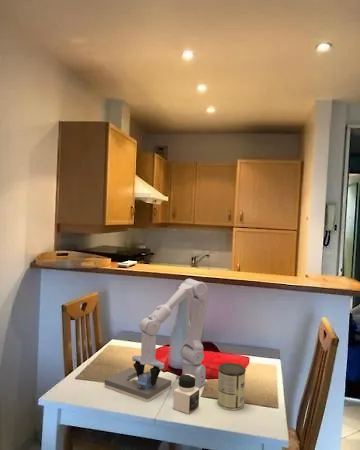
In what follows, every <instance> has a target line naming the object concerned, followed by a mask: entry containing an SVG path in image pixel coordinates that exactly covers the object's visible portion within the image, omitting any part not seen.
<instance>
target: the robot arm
mask: <svg viewBox="0 0 360 450" xmlns="http://www.w3.org/2000/svg"><path fill="white" fill-rule="evenodd" d="M208 290H209V288H208V286H207V284H205V282H204V281H198V280H195V279H193V278H190V277H189V278H186V279H185V280H184V281H183V282H182V283H181V284H180V286H179V288H178V289H177V290H176V292H174V293H173V295H171V297H170V298H169V299H168V300H167V302H166V303H164V304H160V305H157V306H156V308H155V310H154V311H153V312H152V313H151V314H149V315H148V317H144V318H143V319H142V320H140V321H141V322H140V324H139V326H138V327H139V330H140V331H141V342H140V343H141V345H140V346H141V347H140V348H141V349H140V355H136V354H134V355H133V356H132V357H131V362H134V363H133V365H132V366H133V369H135V370H136V372H137V376H138V381H139V375H141V374H143V373H144V372H145V367H146V365H147V366H151V368H150V369H149V372H151V385H152V386H153V385H155V384H156V381H157V378H158V377H159V376H160V372H161V371H162V370H163V369H165V362H162V361H160V360H158V359H156V351H157V348H156V347H157V334H158V333H159V331H160V328H161V326H162V324H163V323H164V322H165V321H166V320H168V319H169V317H170V316H171V315H172V310H173V309H174V308H175V307H177V306H178V305H179V304H180V303H181V302H183V301H184V300H185V299H187V298H189V299H190V298H191V299H192V300H193V302H194V306H193V310H192V316H191V320H190V326H189V331H188V336H187V339H185V340H183V344H182V346H181V347H180V351H179V353H180V357H181V358H182V373H181V375H184V374H190V375H193V376H194V377H195V387H196V388H199V389H200V388H201V387H202V386H205V384H206V383H207V381H206V376H207V375H206V372H207V371H206V370H207V369H206V366H205V365H203V364H202V362H203V360H204V358H205V355H204V345H203V343H202V340H201V339H202V335H203V329H204V324H205V319H206V313H207V309H208V304H209V296H208ZM177 383H178V384H179V381H178V382H177Z"/></svg>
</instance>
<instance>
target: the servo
mask: <svg viewBox="0 0 360 450" xmlns="http://www.w3.org/2000/svg"><path fill="white" fill-rule="evenodd" d="M144 372H145V371H144ZM136 383H138V388H139V389H140V388H143V389H148V388H150V387H152V385H151V372H150V370H148V371H146V372H145V373H143V374H141V375H139V381H137V382H136Z"/></svg>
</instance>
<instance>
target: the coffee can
mask: <svg viewBox="0 0 360 450" xmlns="http://www.w3.org/2000/svg"><path fill="white" fill-rule="evenodd" d="M246 370H247V369H246V366H244V365H241V364H239V363H234V362H233V363H232V362H226V363H221V364H219V365H218V376H217V377H218V379H217V380H218V382H217V406H218V407H219V408H220V409H223V410H228V411H238V410H241V409H243V408H244V407H245V403H244V402H245V388H246V387H245V386H246V385H245V384H246Z"/></svg>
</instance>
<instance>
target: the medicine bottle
mask: <svg viewBox="0 0 360 450" xmlns="http://www.w3.org/2000/svg"><path fill="white" fill-rule="evenodd" d="M178 378H179V379H178V382H179V383H178V386H177V387H176V388H175V389H174V390H173V400H172V401H173V402H172V403H173V404H172V406H173V407H172V409H174V410H177V411H179V412H182V413H184V414H187V415H189V414H191V413H193V412H194V411H195V410H196V409H198V408H199V405H200V387H199V388H196V387H195V377H194V376H193V375H190V374H184V375H182V374H181V375H180V376H179V377H178Z"/></svg>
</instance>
